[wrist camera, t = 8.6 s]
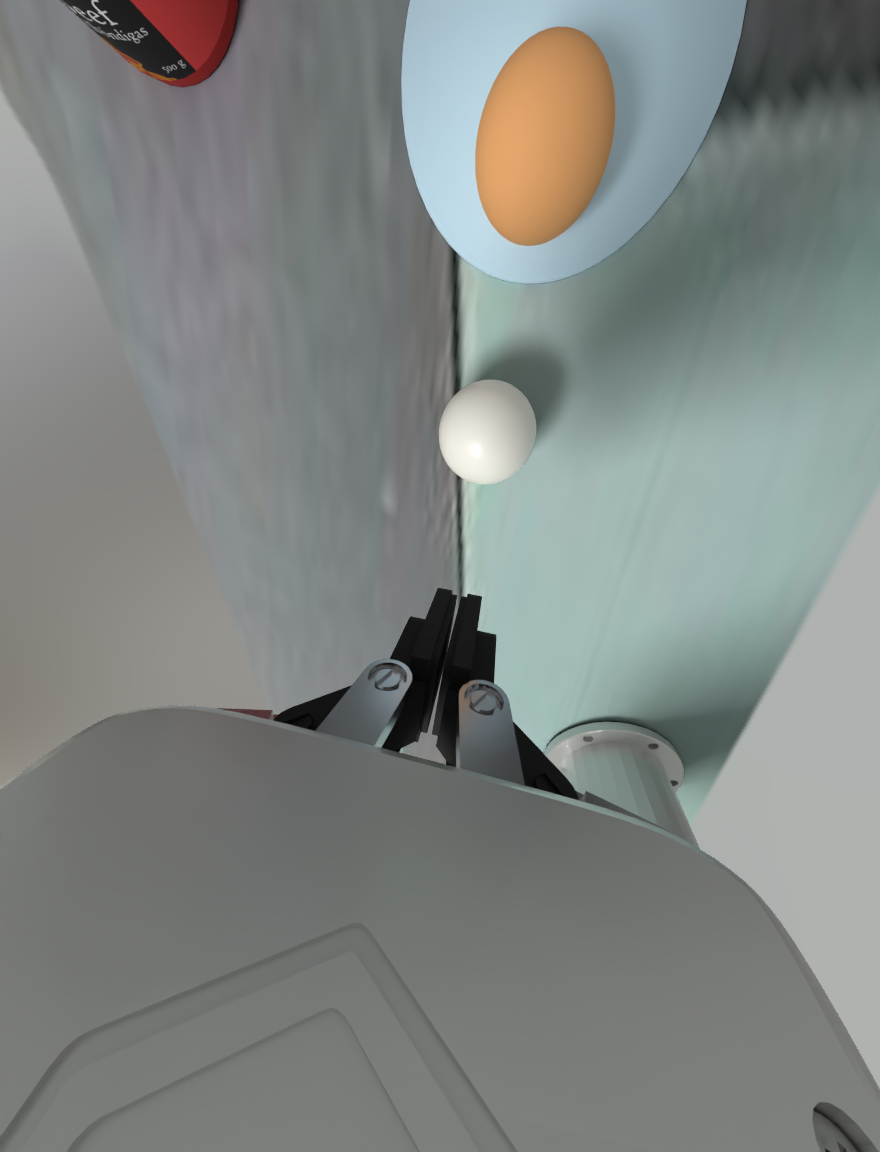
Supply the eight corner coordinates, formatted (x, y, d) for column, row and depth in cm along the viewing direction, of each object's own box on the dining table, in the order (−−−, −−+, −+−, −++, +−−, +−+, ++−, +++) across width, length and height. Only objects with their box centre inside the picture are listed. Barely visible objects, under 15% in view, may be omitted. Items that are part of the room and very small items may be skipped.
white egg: (559, 457, 16) (555, 420, 20) (484, 366, 15) (495, 345, 18) (478, 518, 20) (488, 476, 24) (408, 450, 18) (431, 417, 22)
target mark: (784, 122, 14) (788, 118, 14) (492, 345, 19) (492, 344, 19) (681, -444, 10) (685, -459, 10) (343, 38, 15) (341, 34, 15)
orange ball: (626, 221, 13) (656, 75, 13) (537, 91, 10) (574, -105, 10) (522, 296, 18) (543, 189, 18) (439, 221, 15) (462, 90, 14)
